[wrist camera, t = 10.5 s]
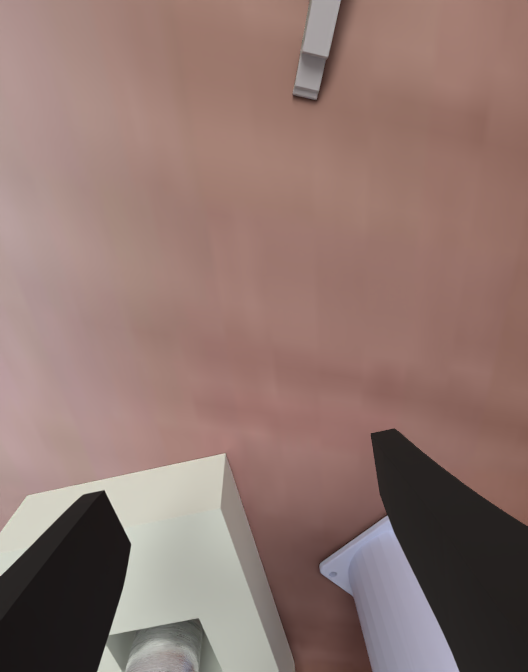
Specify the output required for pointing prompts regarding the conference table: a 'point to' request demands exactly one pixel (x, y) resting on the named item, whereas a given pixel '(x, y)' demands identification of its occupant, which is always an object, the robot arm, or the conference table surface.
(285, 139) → the conference table surface
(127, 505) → the pin board
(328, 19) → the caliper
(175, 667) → the tall pin
